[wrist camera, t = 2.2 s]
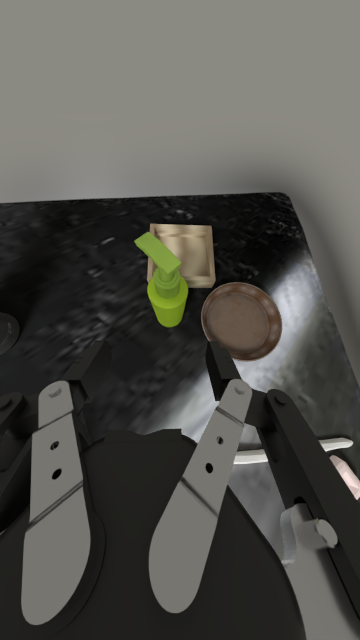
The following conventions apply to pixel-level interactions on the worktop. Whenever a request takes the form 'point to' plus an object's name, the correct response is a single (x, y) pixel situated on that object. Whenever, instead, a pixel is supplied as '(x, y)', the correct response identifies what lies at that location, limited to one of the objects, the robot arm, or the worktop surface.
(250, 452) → the white ball-headed stick
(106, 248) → the worktop surface
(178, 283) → the soap dispenser
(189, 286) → the birch crate
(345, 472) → the soap bar
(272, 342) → the plant saucer
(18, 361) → the worktop surface
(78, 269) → the worktop surface
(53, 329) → the worktop surface
